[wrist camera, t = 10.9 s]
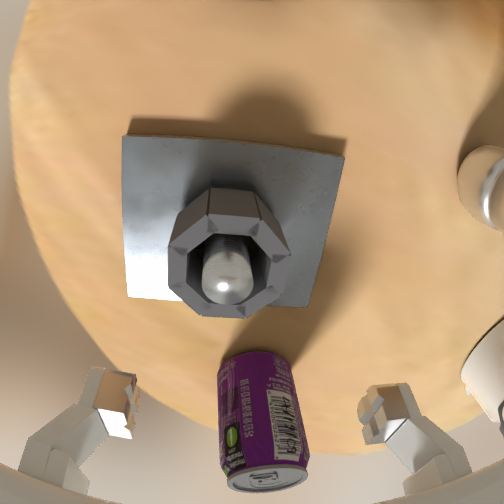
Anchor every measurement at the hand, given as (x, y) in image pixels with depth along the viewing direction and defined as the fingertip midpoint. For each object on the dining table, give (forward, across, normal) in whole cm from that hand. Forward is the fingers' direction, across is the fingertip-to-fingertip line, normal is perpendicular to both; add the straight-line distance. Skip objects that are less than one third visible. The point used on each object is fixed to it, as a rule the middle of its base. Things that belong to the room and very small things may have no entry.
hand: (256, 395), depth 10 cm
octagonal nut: (+12, +1, +1) cm, 12 cm away
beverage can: (+14, -3, +16) cm, 21 cm away
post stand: (+14, +1, +1) cm, 14 cm away
